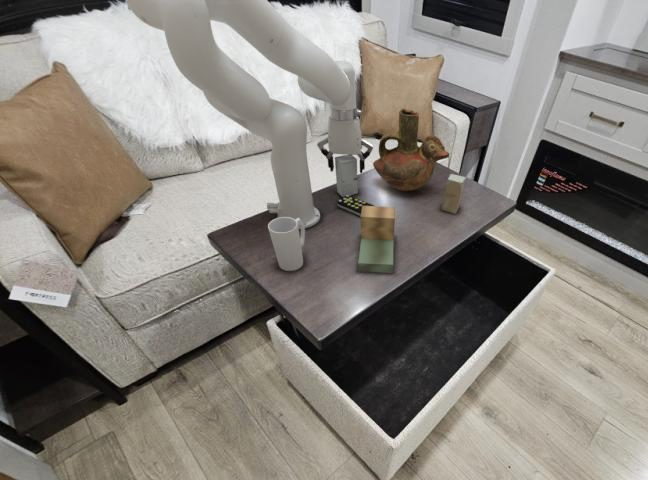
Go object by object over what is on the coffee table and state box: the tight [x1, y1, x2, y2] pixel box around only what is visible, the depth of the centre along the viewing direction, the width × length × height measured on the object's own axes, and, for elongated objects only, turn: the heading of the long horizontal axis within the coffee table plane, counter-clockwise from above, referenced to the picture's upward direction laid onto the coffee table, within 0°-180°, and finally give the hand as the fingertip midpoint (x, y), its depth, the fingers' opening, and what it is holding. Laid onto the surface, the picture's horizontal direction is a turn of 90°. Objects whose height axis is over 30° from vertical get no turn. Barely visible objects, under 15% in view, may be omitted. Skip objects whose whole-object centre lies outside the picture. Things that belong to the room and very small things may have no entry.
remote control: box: [336, 195, 375, 217], centre depth 108 cm, size 6×13×2 cm, turn 57°
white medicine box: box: [334, 154, 359, 198], centre depth 111 cm, size 6×4×12 cm
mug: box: [267, 217, 306, 272], centre depth 85 cm, size 10×7×12 cm, turn 151°
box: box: [441, 173, 467, 215], centre depth 108 cm, size 5×4×11 cm
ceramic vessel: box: [372, 107, 451, 192], centre depth 112 cm, size 17×26×25 cm, turn 77°
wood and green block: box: [357, 205, 396, 274], centre depth 90 cm, size 9×16×10 cm, turn 0°
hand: (346, 170), depth 110 cm, fingers open, 9 cm apart
